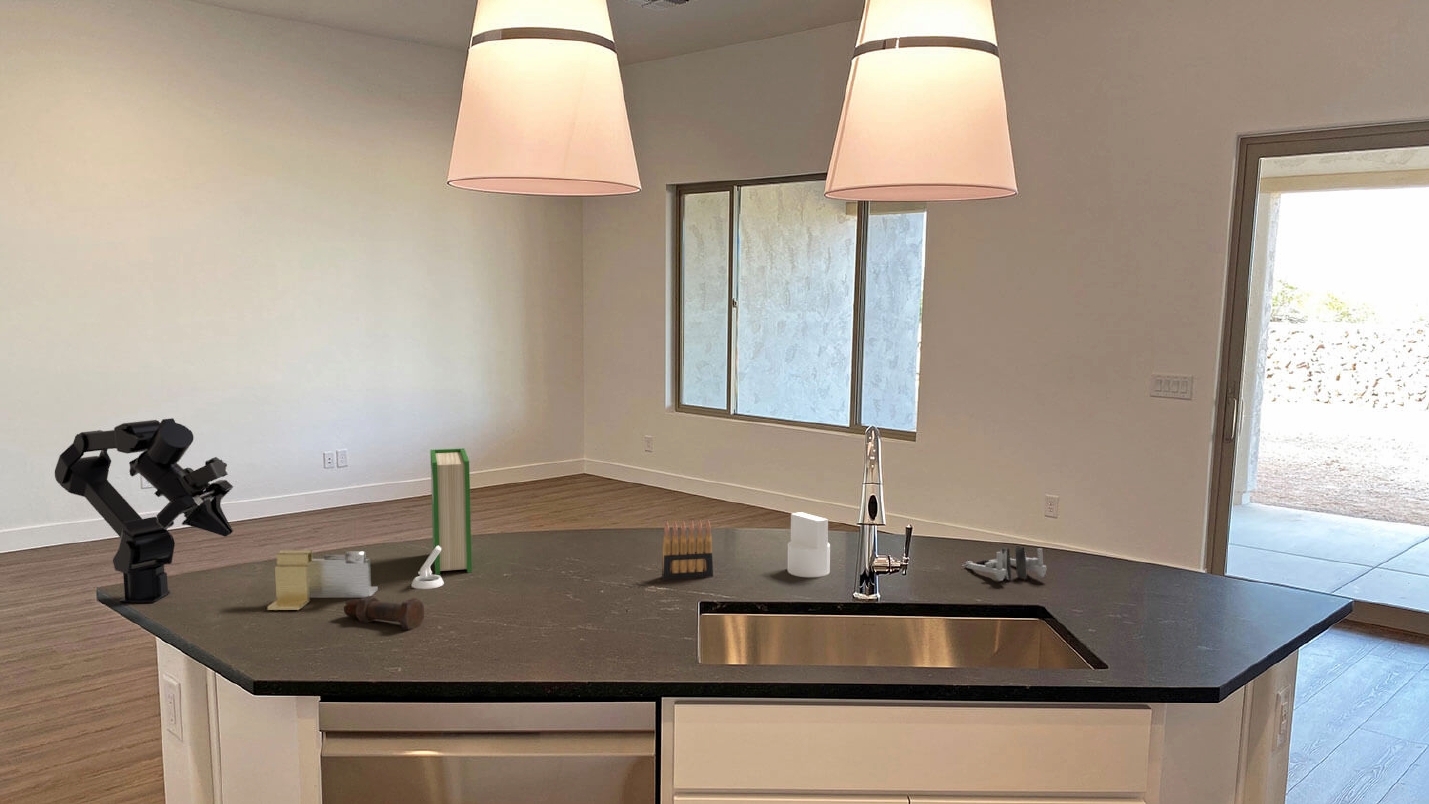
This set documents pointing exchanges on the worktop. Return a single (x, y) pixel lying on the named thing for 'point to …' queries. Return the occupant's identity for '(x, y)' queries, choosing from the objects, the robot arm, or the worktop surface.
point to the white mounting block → (340, 576)
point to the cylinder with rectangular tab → (808, 546)
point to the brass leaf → (292, 580)
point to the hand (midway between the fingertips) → (229, 534)
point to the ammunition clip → (687, 553)
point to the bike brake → (1004, 564)
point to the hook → (428, 573)
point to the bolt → (386, 611)
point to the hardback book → (451, 509)
